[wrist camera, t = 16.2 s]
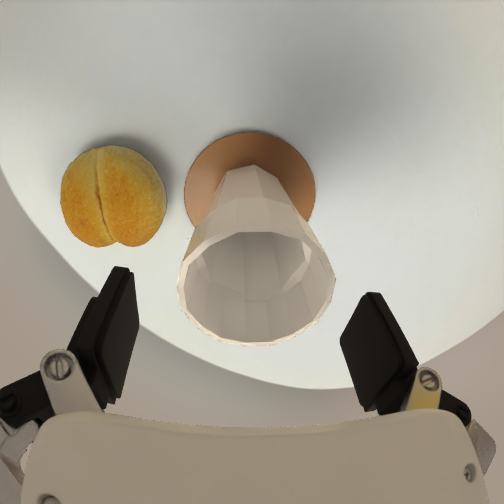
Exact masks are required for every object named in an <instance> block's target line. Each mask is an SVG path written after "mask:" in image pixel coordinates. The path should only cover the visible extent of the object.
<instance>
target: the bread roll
mask: <svg viewBox="0 0 504 504" xmlns="http://www.w3.org/2000/svg"><path fill="white" fill-rule="evenodd" d="M60 203H61V207H62V212H63V215H64V218H65V222H66V224H67V226H68V227H69V229H70V231H71V232H72V233H73V234H74V236H75V237H77V238H78V239H79V240H81V241H82V242H84V243H86V244H88V245H90V246H93V247H105V246H108V245H112V244H113V243H115V242H119V243H122V244H123V245H126V246H130V247H135V246H140V245H143V244H145V243H146V242H148V241H149V240H150V239H151V238H152V237H153V236H154V235H155V233H156V232H157V231H158V229H159V227H160V225H161V223H162V221H163V218H164V215H165V212H166V207H167V195H166V190H165V186H164V183H163V181H162V179H161V177H160V176H159V174H158V173H157V171H156V169H155V168H154V167H153V165H152V164H151V163H150V162H149V161H148V160H147V159H146V158H145V157H144V156H142V155H141V154H140V153H138V152H136V151H134V150H132V149H129V148H125V147H122V146H114V145H109V146H104V147H100V148H95V149H91V150H88V151H86V152H84V153H82V154H81V155H79V156H78V157H77V158H76V159H75V160H74V161H73V162H71V163H70V164H69V166H68V167H67V169H66V171H65V173H64V176H63V179H62V185H61V201H60Z"/></svg>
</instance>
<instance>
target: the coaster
mask: <svg viewBox="0 0 504 504" xmlns="http://www.w3.org/2000/svg"><path fill="white" fill-rule="evenodd" d="M254 164H255V165H256V166H258V167H260V168H261V169H263V170H265V171H267V172H268V173H270V174H272V175H273V176H275V177H277V178H278V180H279V182H280V184H281V185H282V187H283V189H284V190H285V192H286V193H287V195H288V197H289V198H290V200H291V201H292V203H293V205H294V206H295V208H296V210H297V211H298V213H299V214H300V215H301V216H302V217H303V218H304V219H305V221H306V222H308V220H309V218H310V216H311V213H312V210H313V207H314V202H315V183H314V179H313V175H312V172H311V170H310V168H309V166H308V164H307V162H306V161H305V159H304V158H303V157H302V155H301V154H300V153H299V152H298V151H297V150H296V149H295V148H294V147H292V146H291V145H290V144H288V143H287V142H285V141H283V140H282V139H280V138H277V137H275V136H272V135H269V134H265V133H259V132H242V133H236V134H232V135H229V136H226V137H223V138H221V139H219V140H217V141H215V142H214V143H212V144H211V145H209V146H208V147H207V148H206V149H205V150H203V151H202V153H201V154H200V155H199V156H198V157H197V158H196V160H195V161H194V163H193V164H192V166H191V168H190V170H189V172H188V175H187V178H186V182H185V188H184V200H185V207H186V210H187V214H188V216H189V218H190V220H191V222H192V224H193V225H194V227H195V228H196V227H197V226H198V225H199V224H200V223H201V222H202V221H203V220H204V219H205V216H206V213H207V211H208V208H209V206H210V203H211V201H212V198H213V194H214V192H215V190H216V189H217V187H218V185H219V184H220V182H221V180H222V179H223V177H224V175H225V174H226V172H227V171H229V170H233V169H237V168H241V167H246V166H250V165H254Z"/></svg>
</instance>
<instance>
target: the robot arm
mask: <svg viewBox="0 0 504 504" xmlns="http://www.w3.org/2000/svg"><path fill="white" fill-rule="evenodd" d="M138 330H139V315H138V308H137V300H136V291H135V281H134V273H133V272H130V271H129V268H125V267H118V266H115V267H114V268H113V269H112V271H111V273H110V275H109V277H108V278H107V280H106V282H105V284H104V286H103V288H102V290H101V292H100V294H99V296H98V297H92V298H91V300H90V301H89V303H88V305H87V307H86V309H85V311H84V313H83V315H82V317H81V319H80V321H79V323H78V325H77V328H76V330H75V332H74V334H73V336H72V338H71V341H70V343H69V345H68V347H67V350H65V349H56V350H52V351H50V352H48V353H47V354H46V355H45V356H44V357H43V359H42V361H41V364H40V371H37V372H35V373H33V374H31V375H29V376H27V377H25V378H22V379H20V380H18V381H16V382H14V383H11V384H9V385H7V386H5V387H3V388H2V389H0V504H489V499H488V494H487V489H486V485H485V481H484V478H483V477H484V475H485V473H486V471H487V469H488V467H489V465H490V463H491V461H492V459H493V457H494V454H495V451H496V444H495V441H494V440H493V438H492V437H491V436H490V435H489V434H488V433H487V432H486V431H485V430H484V429H483V428H482V427H481V426H480V425H479V424H478V423H477V422H476V421H475V419H473V420H471V412H470V409H469V407H468V406H467V405H466V404H465V403H464V402H462V401H461V400H459V399H457V398H455V397H454V396H452V395H451V394H449V393H447V392H445V391H444V390H442V381H441V378H440V376H439V375H438V373H437V372H436V371H434V370H433V369H431V368H428V367H422V368H420V369H419V370H418V369H417V366H418V364H419V363H418V361H417V359H416V357H415V355H414V353H413V351H412V349H411V347H410V345H409V343H408V341H407V339H406V337H405V336H404V334H403V332H402V330H401V328H400V326H399V325H398V323H397V321H396V319H395V317H394V316H393V314H392V312H391V310H390V309H389V307H388V305H387V303H386V302H385V300H384V298H383V296H382V295H381V294H380V293H376V292H367V293H366V294H365V295H363V296H362V297H361V299H360V301H359V303H358V305H357V307H356V309H355V311H354V313H353V315H352V317H351V319H350V320H349V322H348V324H347V326H346V328H345V330H344V331H343V333H342V335H341V337H340V346H341V348H342V351H343V354H344V357H345V360H346V363H347V366H348V369H349V372H350V375H351V378H352V381H353V384H354V387H355V390H356V393H357V396H358V399H359V403H360V405H361V406H363V408H364V411H365V412H369V411H374V410H376V409H377V411H378V414H377V416H376V417H371V418H366V419H360V420H353V421H346V422H339V423H331V424H320V425H310V426H296V427H271V428H241V427H215V426H201V425H190V424H181V423H171V422H163V421H156V420H149V419H143V418H136V417H130V416H124V415H118V414H110V413H105V412H104V410H103V409H105V408H106V406H107V403H110V404H115V401H116V398H120V397H121V394H122V390H123V386H124V381H125V377H126V373H127V369H128V366H129V362H130V358H131V354H132V351H133V347H134V344H135V340H136V336H137V333H138ZM31 442H32V443H33V444H32V447H31V450H30V453H29V456H28V460H27V465H26V469H25V474H24V473H23V472H22V470H21V466H20V460H21V457H22V455H23V454H24V453H25V452H26V451H27V449H26V447H27V446H28V445H29V444H30V443H31Z"/></svg>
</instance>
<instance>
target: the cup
mask: <svg viewBox="0 0 504 504" xmlns="http://www.w3.org/2000/svg"><path fill="white" fill-rule="evenodd" d="M335 281H336V278H335V275H334V272H333V270H332V267H331V265H330V262H329V260H328V257H327V255H326V253H325V251H324V250H323V248H322V246H321V244H320V243H319V241H318V239H317V238H316V236H315V234H314V233H313V231H312V229H311V227H310V226H309V224H308V223H307V222H306V221H305V219H304V218H303V217H302V216H301V215H300V214H299V213H298V211H297V210H296V208H295V206H294V205H293V203H292V201H291V200H290V198H289V197H288V195H287V193H286V192H285V190H284V189H283V187H282V185H281V184H280V182H279V180H278V178H277V177H275V176H273V175H272V174H270V173H268V172H267V171H265V170H263V169H261V168H260V167H258V166H256V165H255V164H254V165H250V166H246V167H241V168H237V169H233V170H229V171H227V172H226V174H225V175H224V177H223V179H222V180H221V182H220V184H219V185H218V187H217V189H216V190H215V192H214V194H213V198H212V201H211V203H210V206H209V208H208V211H207V213H206V216H205V219H204V220H203V221H202V222H201V223H200V224H199V225H198V226H197V227H196V228H195V230H194V233H193V235H192V238H191V240H190V243H189V246H188V248H187V251H186V253H185V256H184V259H183V261H182V265H181V270H180V274H179V279H178V284H177V291H178V296H179V301H180V306H181V310H182V312H183V313H184V314H185V315H186V316H187V317H188V318H189V319H190V320H191V322H192V323H193V324H194V325H195V326H196V327H197V328H198V329H200V330H201V331H203V332H205V333H206V334H208V335H210V336H211V337H213V338H215V339H216V340H218V341H221V342H226V343H231V344H237V345H242V346H263V345H273V344H276V343H279V342H282V341H285V340H287V339H290V338H293V337H296V336H297V335H299V334H300V333H302V332H304V331H305V330H307V329H308V328H310V327H311V326H313V325H314V324H316V323H317V322H318V321H319V319H320V318H321V316H322V315H323V313H324V312H325V310H326V309H327V307H328V306H329V304H330V302H331V298H332V294H333V290H334V286H335Z"/></svg>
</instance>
